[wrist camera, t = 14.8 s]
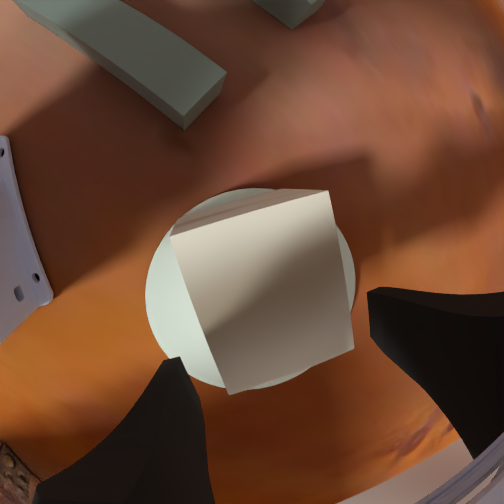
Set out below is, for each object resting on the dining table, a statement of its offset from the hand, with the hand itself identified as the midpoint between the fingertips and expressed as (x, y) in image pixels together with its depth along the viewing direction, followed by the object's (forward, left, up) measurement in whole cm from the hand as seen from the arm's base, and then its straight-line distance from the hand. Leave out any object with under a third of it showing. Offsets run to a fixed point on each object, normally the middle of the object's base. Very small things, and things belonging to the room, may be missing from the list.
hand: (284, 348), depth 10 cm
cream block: (+2, 0, -5) cm, 5 cm away
